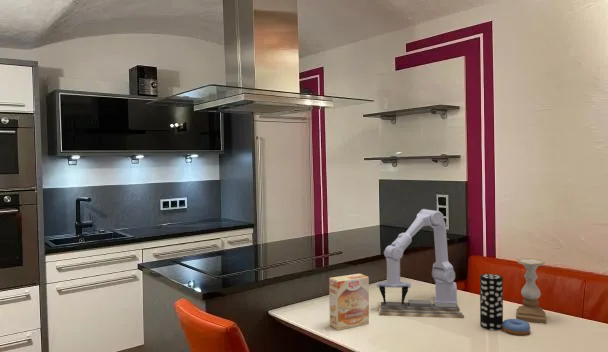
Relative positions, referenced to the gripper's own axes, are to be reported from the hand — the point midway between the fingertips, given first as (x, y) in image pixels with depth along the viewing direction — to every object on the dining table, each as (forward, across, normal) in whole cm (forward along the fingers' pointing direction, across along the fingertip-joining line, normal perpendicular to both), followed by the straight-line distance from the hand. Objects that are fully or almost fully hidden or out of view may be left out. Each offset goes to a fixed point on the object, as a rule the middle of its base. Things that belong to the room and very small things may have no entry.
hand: (393, 303), depth 211 cm
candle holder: (+3, +56, -5) cm, 56 cm away
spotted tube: (+3, +37, -17) cm, 41 cm away
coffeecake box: (+3, -18, -20) cm, 27 cm away
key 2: (+1, +22, 0) cm, 22 cm away
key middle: (0, +11, 0) cm, 11 cm away
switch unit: (+3, +11, 0) cm, 11 cm away
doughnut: (+3, +45, -21) cm, 50 cm away
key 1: (+1, 0, 0) cm, 1 cm away
